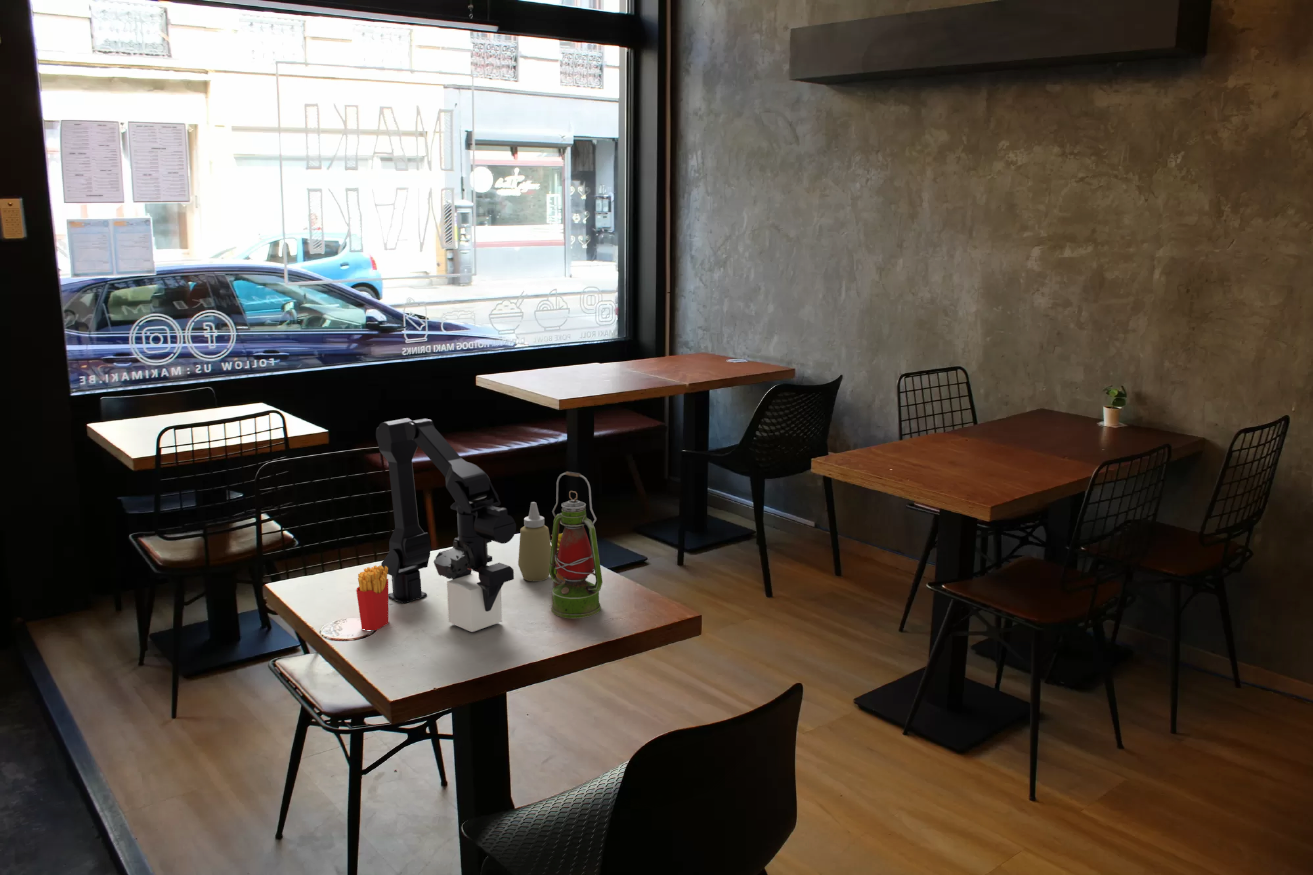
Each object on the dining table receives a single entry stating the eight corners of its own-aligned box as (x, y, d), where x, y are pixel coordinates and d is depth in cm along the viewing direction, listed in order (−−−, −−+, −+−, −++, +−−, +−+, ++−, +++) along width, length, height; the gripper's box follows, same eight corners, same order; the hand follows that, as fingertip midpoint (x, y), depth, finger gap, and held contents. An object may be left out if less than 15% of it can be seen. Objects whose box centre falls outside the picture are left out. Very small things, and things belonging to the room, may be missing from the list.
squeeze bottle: (515, 573, 247) (512, 499, 243) (549, 570, 249) (547, 496, 245) (521, 585, 239) (519, 509, 235) (556, 581, 242) (554, 505, 238)
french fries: (371, 633, 213) (367, 577, 210) (354, 631, 214) (350, 574, 212) (396, 618, 221) (392, 564, 218) (380, 616, 222) (376, 561, 219)
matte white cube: (448, 622, 217) (447, 581, 215) (478, 611, 222) (477, 572, 220) (471, 632, 212) (470, 590, 210) (502, 621, 217) (500, 580, 215)
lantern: (534, 610, 224) (530, 473, 218) (564, 595, 233) (560, 463, 227) (588, 623, 217) (585, 482, 211) (617, 606, 226) (615, 471, 220)
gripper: (411, 532, 213) (416, 605, 217) (469, 552, 201) (472, 629, 205) (456, 520, 221) (460, 591, 225) (514, 539, 209) (516, 613, 213)
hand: (475, 605), depth 216 cm, fingers closed on matte white cube, 8 cm apart
